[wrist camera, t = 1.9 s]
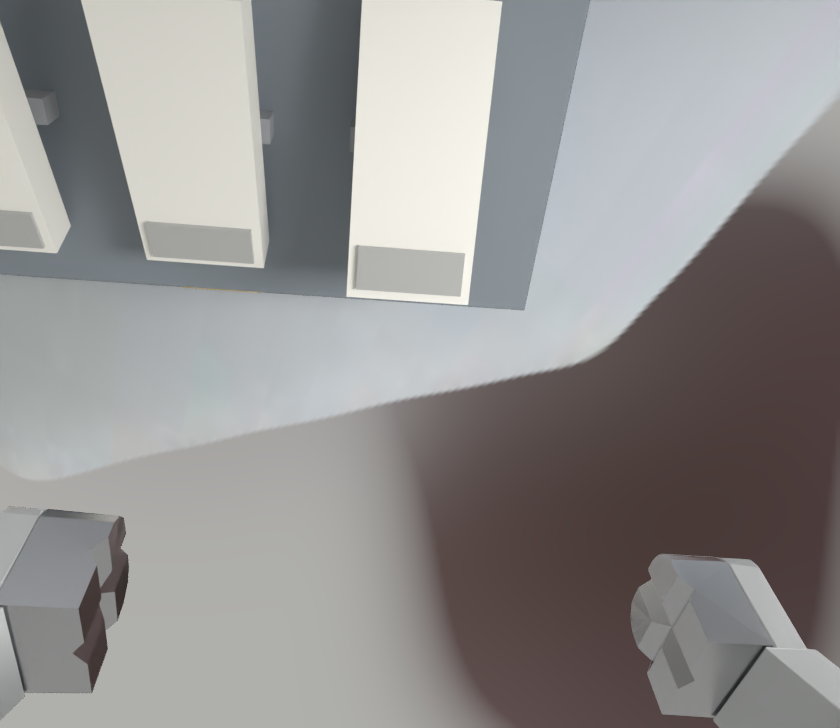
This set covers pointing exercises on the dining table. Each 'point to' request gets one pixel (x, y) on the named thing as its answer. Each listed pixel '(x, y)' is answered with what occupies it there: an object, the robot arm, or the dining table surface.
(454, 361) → the dining table surface
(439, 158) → the rocker
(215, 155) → the block
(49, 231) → the rocker
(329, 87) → the console
